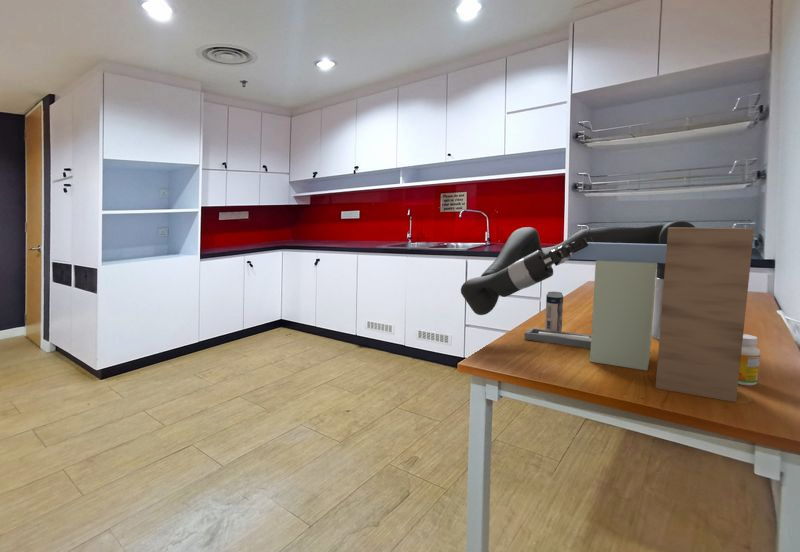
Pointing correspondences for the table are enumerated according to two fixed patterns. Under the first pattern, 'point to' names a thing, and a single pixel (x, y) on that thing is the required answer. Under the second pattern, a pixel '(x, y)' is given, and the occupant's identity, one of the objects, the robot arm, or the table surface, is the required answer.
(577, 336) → the white hexagonal pencil
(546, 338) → the pen tray
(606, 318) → the pale green tall block
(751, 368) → the supplement bottle
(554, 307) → the beer can
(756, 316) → the table surface
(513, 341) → the table surface
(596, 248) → the blue block
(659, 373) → the walnut stand
